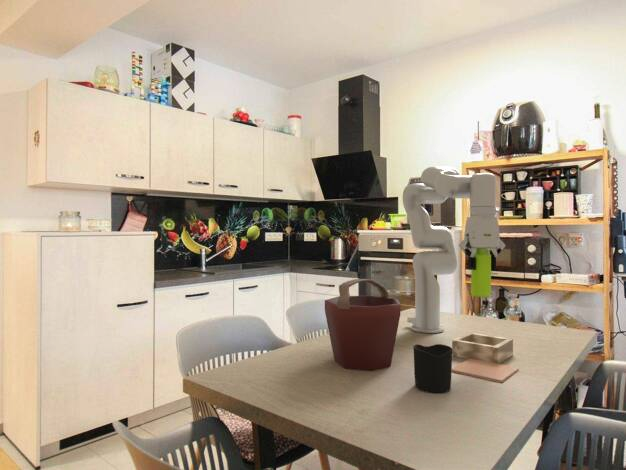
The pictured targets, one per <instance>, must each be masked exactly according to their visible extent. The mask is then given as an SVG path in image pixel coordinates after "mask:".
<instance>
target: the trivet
mask: <svg viewBox="0 0 626 470" xmlns="http://www.w3.org/2000/svg"><path fill="white" fill-rule="evenodd" d="M519 370H520V369H519V367H516V366H511V365H508V364H507V365H505V364H501V363H500V364H497V363H491V362H486V361H481V360H476V359H466V360H464V361H462V362H461V363H459V364H457V365H455V366H454V367H453V366H452V372H451V373H456V374H461V375H465V376H471V377H474V378H479V379H483V380H489V381H492V382H498V383H504V382H505V381H506V380H508V379H509V378H510V377H512V376H513V375H514V374H516V373H517V372H518V371H519Z"/></svg>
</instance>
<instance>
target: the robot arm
mask: <svg viewBox="0 0 626 470" xmlns="http://www.w3.org/2000/svg"><path fill="white" fill-rule="evenodd" d="M420 178H421V179H420V180H421V182H422V183H421V182H419V183H416V182H415V183H411V184H410V183H409V184H407V185H406V186H405V187H404V189H403V191H402V205H403V208H404V210H405V213H406V216H407V218H408V221H409V228H410V233H411V239H412V243H413V246H414V248H416V249H419V250H423V251H419V252H417V253H415V254H414V255H413V257H412V268H413V272H414V284H415V285H414V287H415V288H414V290H415V291H414V292H415V293H414V294H415V295H414V296H415V299H414V300H415V301H414V306H415V308H414V309H415V310H414V311H415V312H414V313H415V315H414V317H412V316H411V317H409V316H408V317H407V319H406V321H407V323H410V324H411V323H412V325H411V330H412V331H414V332H418V333H422V334H423V333H424V334H438V333H442V332H444V331H445V328H444V327H443V326H441V325H440V324H441V320H440V319H441V314H440V313H441V302H440V301H441V298H440V297H441V292H440V291H441V289H440V284H439V282H438V280H437V278H436V277H435V276H443V275H446V276H447V275H452V274H454V273H455V272H456V271H457V268H458V267H457V266H458V260H457V254H456V249H455V244H454V239H453V235H452V233H451V231H450V230H449V228H447V227H445V226H439V225H438V226H437V225H435V226H434V225H432V222H431V217H430V215H429V212H428V211H427V210H426V209H425V208H424V207H423V206H422V205H439V204H443V203H445V202H446V200H447V199H468V200H469V216H467V218H466V221H465V226H464V235H463V236H464V237H463V240H461V242H459V244H458V248H460V250H462V252H463V253H464V254H465V255H466V257H467V266H468V269H469V270H476V257H474V255H475V254H476V250H477V248H487V253H488V254H490V255H491V271H492V270H496V267H497V258H498V257H499V254H500V253H501V252H502V251H503V250H504V249H505V248H506V244H505V243H504V241H503V240H502V239H501V238H500V237H501V236H500V226H499V221H498V217H497V215H496V214H498V213H499V212H500V210H499V209H497V208H496V176H495V174H493V173H490V172H483V173H481V172H480V173H474V174H472V175H460V171H458V169H456V168H455V167H451V166H430V167H429V166H428V167H427V168H425V169H424V170H423V171H422V173H421V175H420ZM484 234H491V236H484Z"/></svg>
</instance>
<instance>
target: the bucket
mask: <svg viewBox="0 0 626 470" xmlns="http://www.w3.org/2000/svg"><path fill="white" fill-rule="evenodd" d="M361 282H367V283H368V284H370V285H371V286H373V287H375V288H377V291H379V294H380V296H378V295H377V296H376V295H350V287H353V286H354V285H356V284H359V283H361ZM338 292H339V296H335V297H332V298H328V299H326V300H324V313H325V318H326V323H327V327H328V328H327V329H328V333H329V339H330V346H331V349H332V356H333V359H334V362H335V363H336V364H338V365H339V366H340V367H342V368H344V369H345V370H355V371H362V372H363V371H364V372H373V371H379V370H383V369H387V368H390V367H391V366H392V361H393V354H394V351H395V344H396V339H397V334H398V329H399V322H400V319H401V303H400V301H399V299H397V298H396V297H395V298H394V297H390V293H389V291H388V289H387V288H386V287H385V286H384V285H382V284H381V283H380V282H378V281H377V280H374V279H371V278H369V279H368V278H355V279H354V278H353V279H351V280H348V281H345V282H342V283H341V284H339V285H338Z"/></svg>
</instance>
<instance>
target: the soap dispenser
mask: <svg viewBox="0 0 626 470" xmlns="http://www.w3.org/2000/svg"><path fill="white" fill-rule="evenodd" d="M484 236H491V234H484ZM474 257H476V270H471V269H470V270H471V271H470V272H471V274H470V275H471V276H470V277H471V278H470V281H471V282H470V286H471V287H470V296H471V297H477V298H490V297H491V296H492V269H491V255H490V254H489V253H488V249H487V248H477V250H476V253H475V255H474Z"/></svg>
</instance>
